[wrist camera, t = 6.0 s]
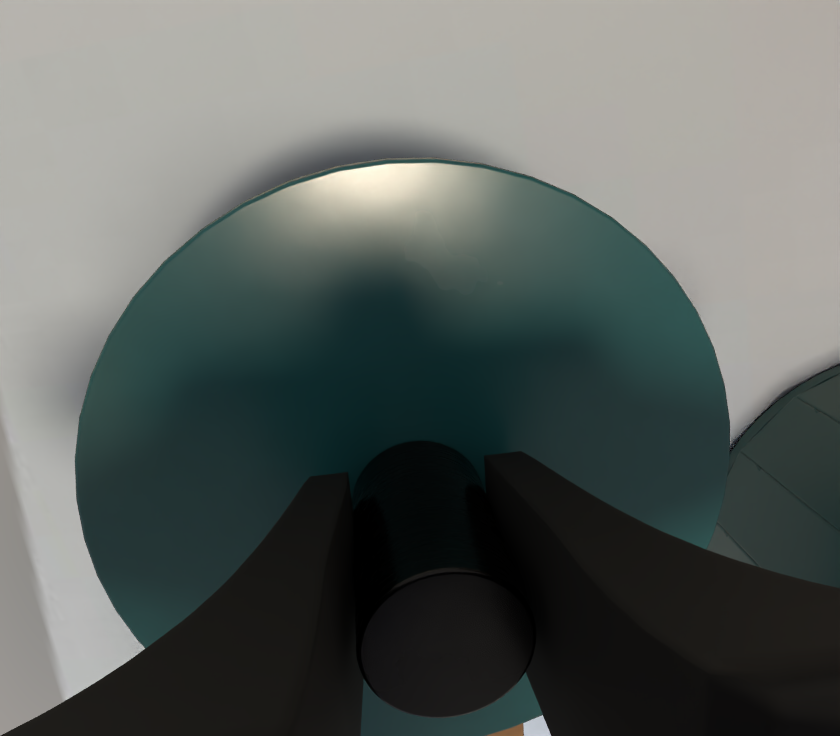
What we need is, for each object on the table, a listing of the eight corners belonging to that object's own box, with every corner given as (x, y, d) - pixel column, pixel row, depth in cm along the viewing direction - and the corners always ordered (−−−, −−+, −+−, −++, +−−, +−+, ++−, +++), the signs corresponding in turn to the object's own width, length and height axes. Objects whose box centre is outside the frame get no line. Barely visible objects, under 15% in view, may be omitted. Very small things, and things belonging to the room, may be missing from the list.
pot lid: (687, 666, 15) (830, 890, 11) (166, 742, 14) (87, 1019, 10) (718, 126, 11) (956, 126, 7) (20, 188, 11) (-208, 232, 6)
